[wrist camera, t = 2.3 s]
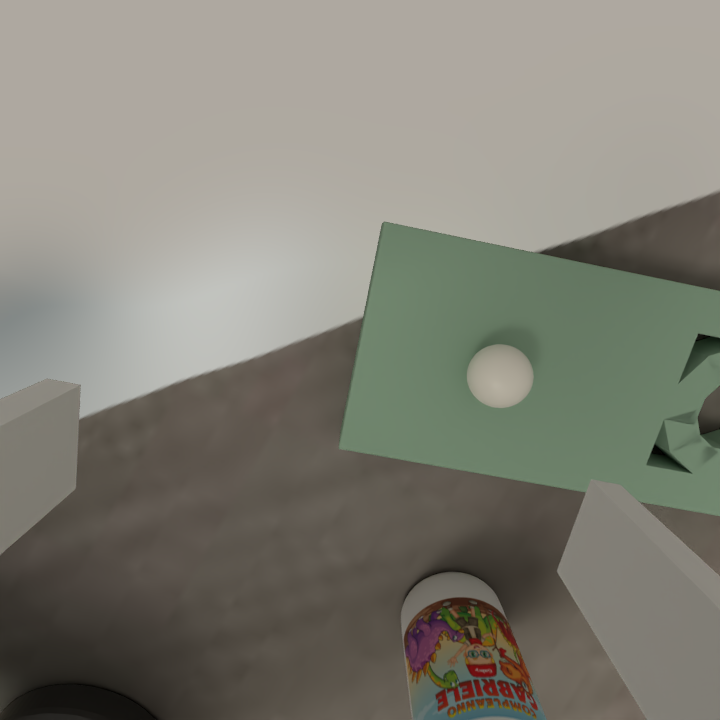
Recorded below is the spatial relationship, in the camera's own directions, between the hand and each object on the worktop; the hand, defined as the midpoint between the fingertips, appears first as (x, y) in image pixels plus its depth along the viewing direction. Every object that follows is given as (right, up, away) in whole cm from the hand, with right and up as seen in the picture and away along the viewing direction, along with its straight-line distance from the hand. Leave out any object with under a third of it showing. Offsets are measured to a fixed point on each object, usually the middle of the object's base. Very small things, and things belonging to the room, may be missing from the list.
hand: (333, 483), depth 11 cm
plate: (+16, +2, +19) cm, 25 cm away
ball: (+9, +2, +14) cm, 17 cm away
